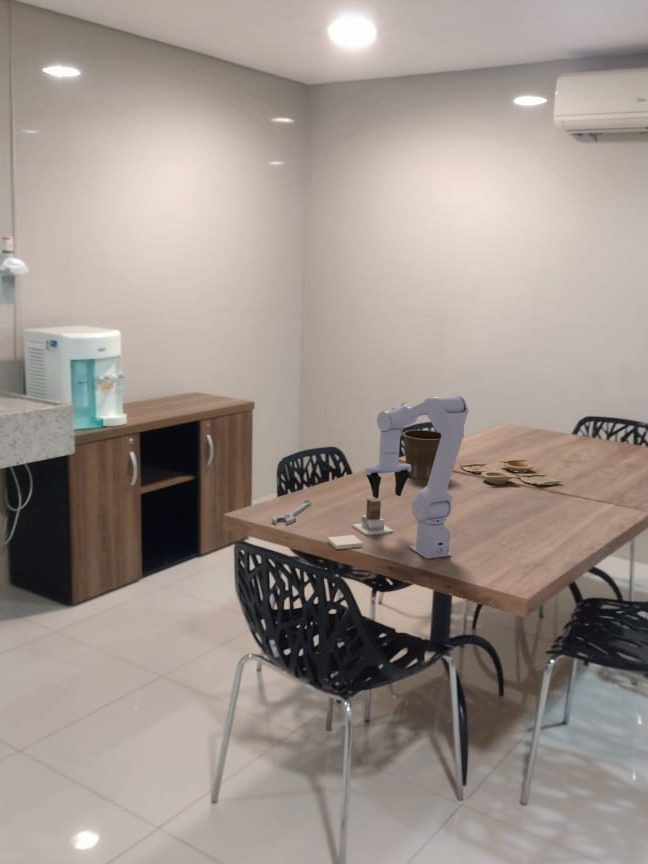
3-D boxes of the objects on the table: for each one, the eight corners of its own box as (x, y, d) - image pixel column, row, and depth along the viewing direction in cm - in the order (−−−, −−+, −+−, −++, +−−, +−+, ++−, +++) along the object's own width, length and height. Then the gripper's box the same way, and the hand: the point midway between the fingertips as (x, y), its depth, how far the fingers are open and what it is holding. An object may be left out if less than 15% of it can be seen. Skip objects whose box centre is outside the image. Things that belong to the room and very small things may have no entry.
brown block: (383, 529, 247) (385, 502, 246) (370, 531, 245) (372, 503, 244) (374, 523, 253) (375, 496, 251) (361, 525, 251) (362, 497, 249)
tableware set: (566, 488, 307) (567, 477, 306) (492, 490, 300) (493, 479, 299) (522, 465, 340) (523, 455, 339) (455, 466, 333) (455, 456, 332)
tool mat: (393, 532, 247) (393, 530, 247) (366, 535, 243) (366, 533, 243) (378, 523, 255) (378, 521, 255) (352, 526, 251) (352, 524, 251)
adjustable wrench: (304, 504, 274) (305, 498, 274) (322, 507, 272) (322, 501, 271) (269, 523, 252) (269, 518, 251) (288, 527, 249) (288, 521, 249)
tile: (363, 542, 233) (336, 545, 230) (362, 548, 234) (336, 550, 231) (353, 535, 240) (327, 537, 237) (353, 540, 240) (327, 542, 237)
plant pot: (438, 484, 304) (441, 440, 301) (395, 478, 309) (398, 435, 306) (447, 474, 319) (450, 432, 316) (406, 469, 324) (409, 428, 321)
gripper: (403, 447, 251) (401, 490, 254) (361, 449, 245) (358, 494, 248) (416, 452, 245) (413, 496, 248) (372, 455, 239) (370, 501, 241)
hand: (386, 496), depth 247 cm, fingers open, 7 cm apart
